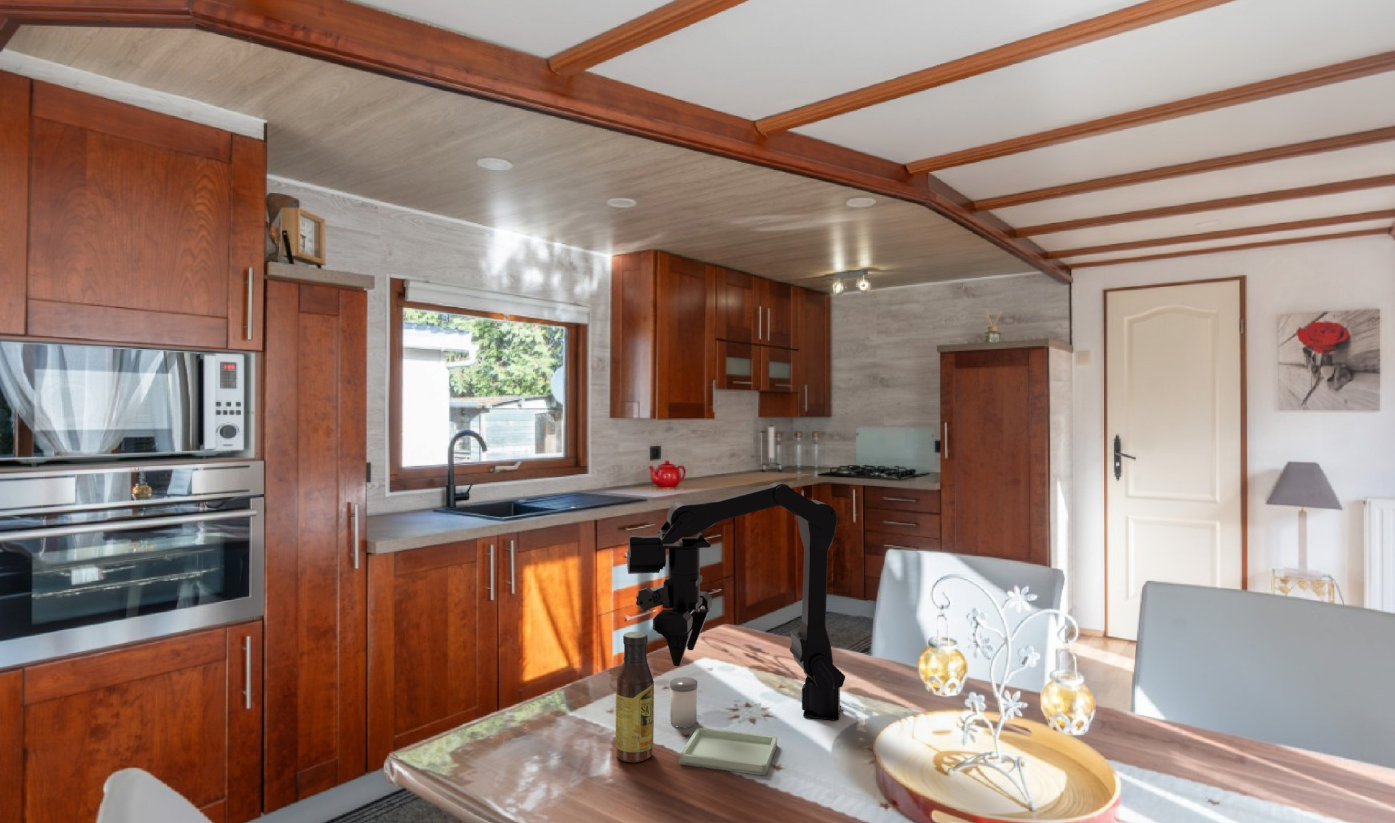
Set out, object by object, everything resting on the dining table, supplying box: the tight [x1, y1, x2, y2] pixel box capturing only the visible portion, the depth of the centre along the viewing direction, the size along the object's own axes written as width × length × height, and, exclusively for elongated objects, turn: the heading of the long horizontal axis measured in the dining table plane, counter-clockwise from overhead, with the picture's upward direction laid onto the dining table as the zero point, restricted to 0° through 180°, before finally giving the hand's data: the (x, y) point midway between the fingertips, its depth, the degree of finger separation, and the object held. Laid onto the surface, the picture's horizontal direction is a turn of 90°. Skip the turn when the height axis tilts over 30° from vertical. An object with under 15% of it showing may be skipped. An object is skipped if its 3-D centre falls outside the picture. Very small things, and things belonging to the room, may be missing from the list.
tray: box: [679, 726, 778, 777], centre depth 125 cm, size 14×11×2 cm
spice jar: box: [669, 676, 698, 728], centre depth 138 cm, size 5×5×7 cm
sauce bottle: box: [615, 631, 655, 763], centre depth 125 cm, size 7×6×20 cm
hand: (683, 657), depth 138 cm, fingers open, 9 cm apart
